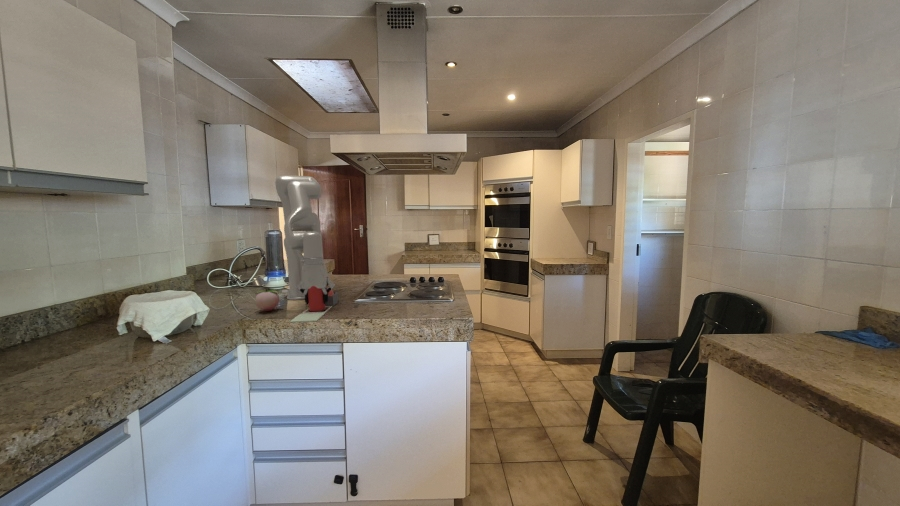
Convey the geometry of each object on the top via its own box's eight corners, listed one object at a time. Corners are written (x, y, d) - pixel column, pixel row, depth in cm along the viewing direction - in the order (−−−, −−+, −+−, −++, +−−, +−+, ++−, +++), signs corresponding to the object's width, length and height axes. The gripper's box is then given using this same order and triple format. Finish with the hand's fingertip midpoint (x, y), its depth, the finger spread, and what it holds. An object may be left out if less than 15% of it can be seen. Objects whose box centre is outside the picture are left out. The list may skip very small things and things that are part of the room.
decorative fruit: (253, 315, 138) (251, 291, 136) (258, 310, 145) (256, 287, 144) (279, 312, 140) (277, 289, 139) (282, 307, 148) (280, 285, 147)
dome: (317, 302, 149) (316, 289, 149) (322, 299, 156) (321, 286, 155) (331, 302, 150) (330, 288, 149) (335, 298, 156) (334, 285, 155)
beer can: (328, 309, 143) (326, 282, 142) (313, 313, 138) (311, 284, 137) (321, 307, 147) (319, 280, 146) (306, 310, 143) (304, 283, 141)
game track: (289, 322, 127) (288, 310, 126) (316, 302, 157) (316, 292, 156) (316, 321, 127) (315, 309, 127) (338, 301, 157) (337, 292, 157)
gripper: (289, 263, 136) (292, 306, 138) (332, 262, 137) (335, 304, 139) (296, 261, 144) (299, 301, 146) (337, 259, 145) (340, 300, 147)
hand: (317, 302), depth 142 cm, fingers closed on beer can, 6 cm apart
